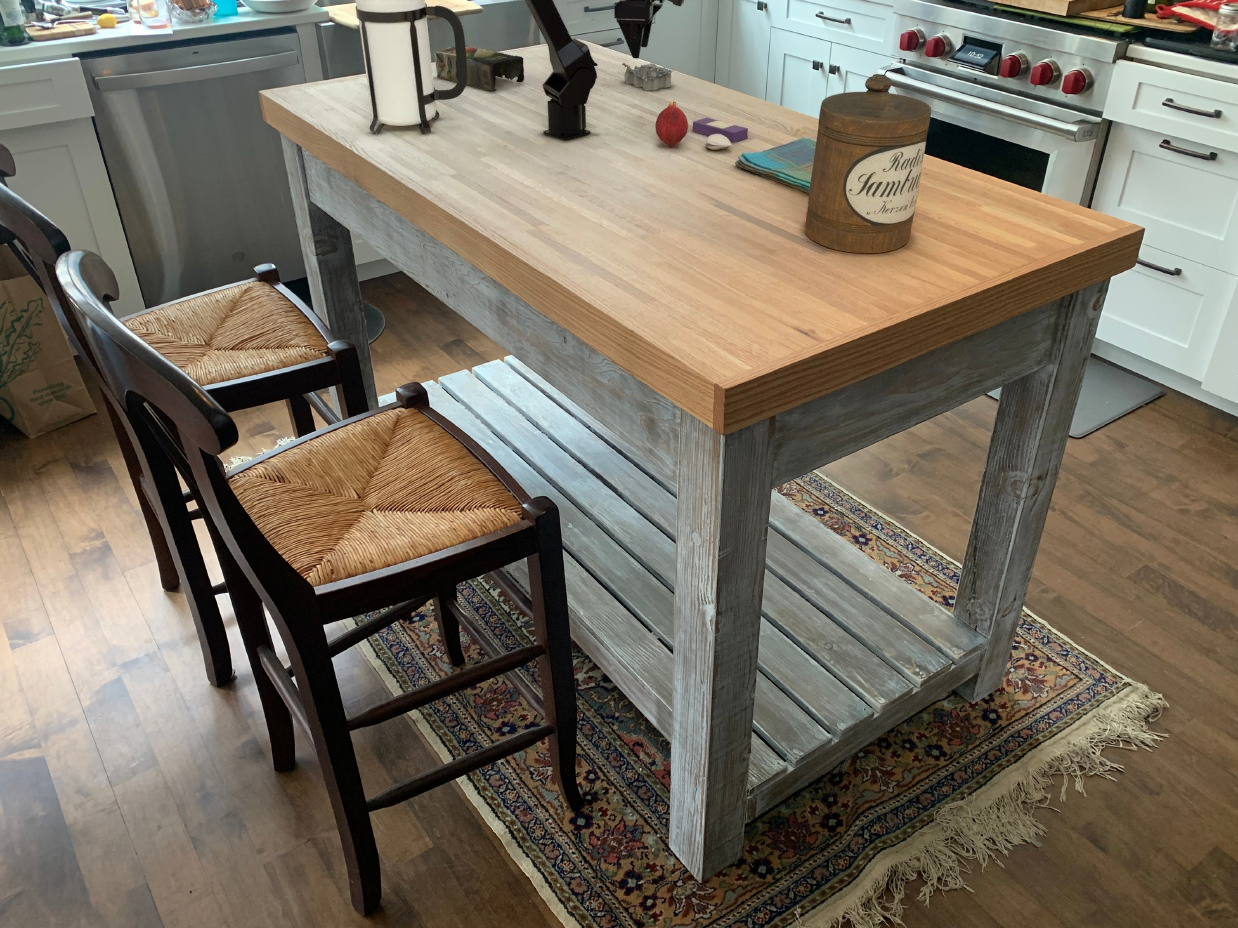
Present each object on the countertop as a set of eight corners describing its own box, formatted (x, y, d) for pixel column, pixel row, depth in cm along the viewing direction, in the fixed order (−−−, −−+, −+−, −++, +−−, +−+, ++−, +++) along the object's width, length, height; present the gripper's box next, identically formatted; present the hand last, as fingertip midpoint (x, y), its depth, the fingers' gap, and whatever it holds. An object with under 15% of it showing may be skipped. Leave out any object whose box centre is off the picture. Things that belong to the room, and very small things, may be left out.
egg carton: (619, 82, 215) (619, 62, 213) (648, 77, 218) (648, 58, 216) (647, 92, 207) (647, 72, 205) (676, 87, 211) (676, 67, 208)
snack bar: (747, 138, 181) (748, 127, 180) (733, 143, 178) (733, 132, 177) (706, 127, 187) (706, 117, 186) (692, 131, 184) (692, 121, 183)
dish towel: (806, 149, 175) (807, 135, 174) (909, 185, 160) (912, 169, 158) (733, 168, 167) (734, 153, 165) (834, 207, 151) (836, 191, 150)
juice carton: (431, 77, 218) (428, 47, 215) (465, 69, 224) (463, 40, 221) (492, 94, 207) (491, 63, 204) (526, 85, 213) (525, 55, 210)
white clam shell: (714, 144, 178) (715, 130, 176) (737, 150, 175) (738, 135, 174) (700, 150, 175) (701, 136, 174) (724, 155, 172) (725, 141, 171)
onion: (687, 152, 174) (689, 106, 169) (655, 152, 174) (656, 105, 169) (686, 142, 179) (688, 97, 174) (654, 142, 179) (655, 97, 174)
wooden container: (859, 263, 134) (884, 95, 121) (783, 230, 144) (799, 72, 131) (931, 238, 141) (962, 78, 128) (854, 208, 151) (875, 57, 138)
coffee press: (392, 144, 178) (369, -41, 161) (351, 124, 188) (325, -52, 171) (474, 126, 187) (459, -50, 170) (430, 108, 197) (413, -60, 180)
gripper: (679, -33, 163) (676, 66, 172) (693, -49, 178) (690, 43, 187) (613, -35, 165) (613, 64, 173) (632, -50, 180) (632, 41, 189)
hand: (640, 52), depth 180 cm, fingers open, 9 cm apart
